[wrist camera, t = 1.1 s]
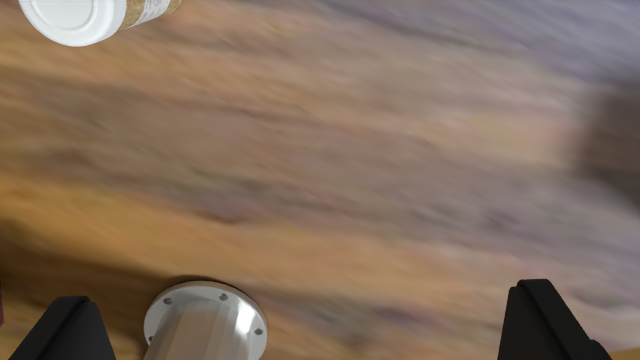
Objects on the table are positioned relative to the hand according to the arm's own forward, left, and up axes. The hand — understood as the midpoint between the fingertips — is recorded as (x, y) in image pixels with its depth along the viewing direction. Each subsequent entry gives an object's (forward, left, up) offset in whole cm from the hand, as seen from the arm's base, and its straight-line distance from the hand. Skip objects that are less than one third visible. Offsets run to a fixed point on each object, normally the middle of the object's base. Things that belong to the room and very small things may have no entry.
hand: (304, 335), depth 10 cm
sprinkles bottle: (+1, +13, -29) cm, 31 cm away
